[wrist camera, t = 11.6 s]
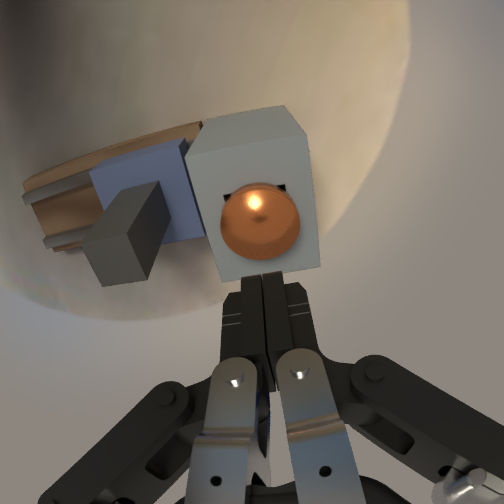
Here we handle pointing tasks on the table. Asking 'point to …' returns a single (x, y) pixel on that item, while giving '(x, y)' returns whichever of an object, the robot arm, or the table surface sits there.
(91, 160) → the rail bed
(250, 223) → the orange push button
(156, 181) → the carriage
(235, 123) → the end cabinet
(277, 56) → the table surface
